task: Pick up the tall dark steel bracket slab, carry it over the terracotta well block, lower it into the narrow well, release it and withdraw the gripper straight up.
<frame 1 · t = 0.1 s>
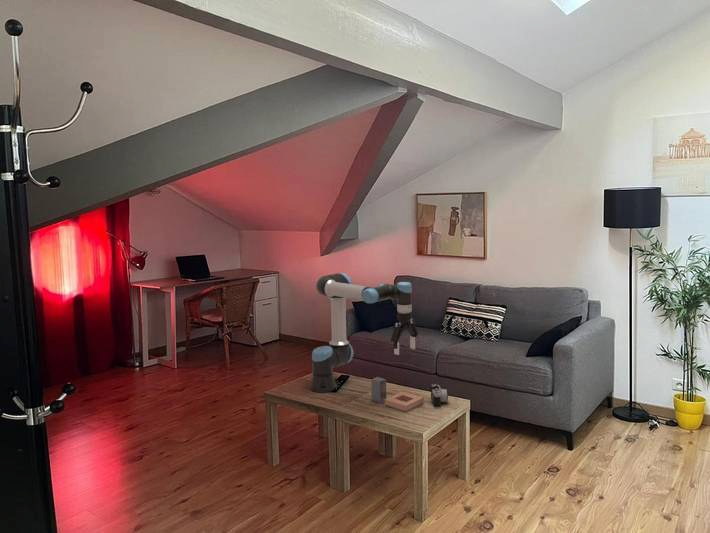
hand: (404, 351, 305), 28 cm above the table, fingers open, 13 cm apart
camera: (438, 403, 307), on the table
well: (404, 404, 305), on the table
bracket: (379, 400, 311), on the table
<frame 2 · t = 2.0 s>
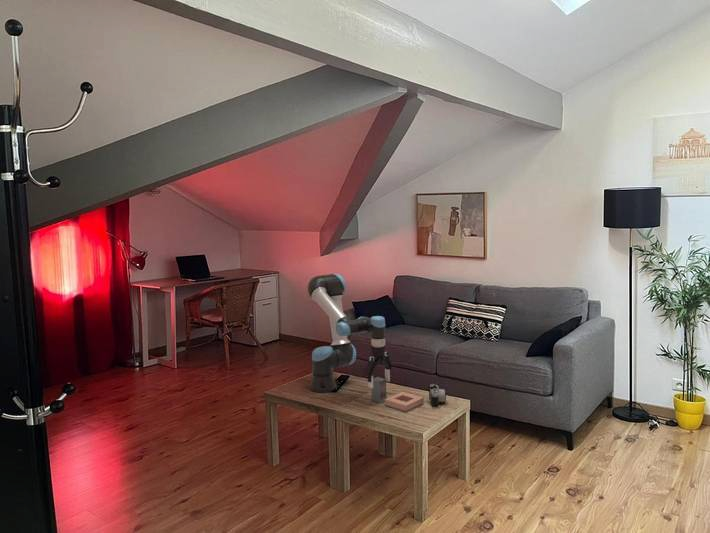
hand: (379, 384, 310), 9 cm above the table, fingers open, 13 cm apart
camera: (436, 403, 307), on the table
everything else where it was.
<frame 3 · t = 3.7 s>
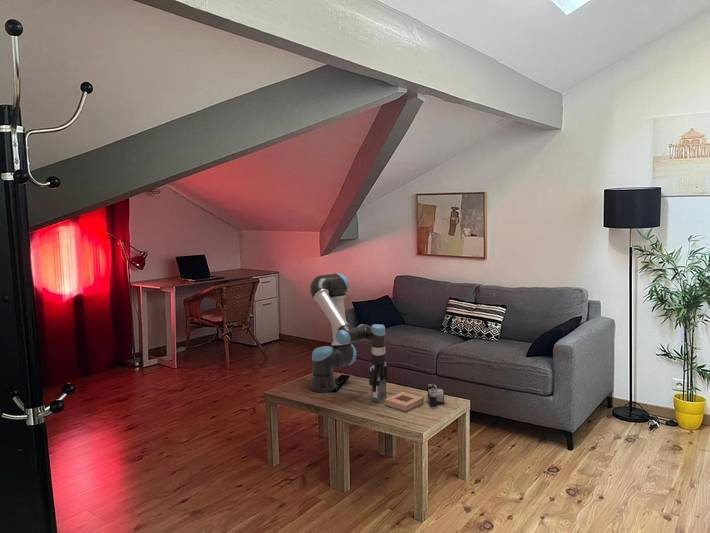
hand: (378, 395, 311), 3 cm above the table, fingers closed on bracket, 5 cm apart
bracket: (379, 400, 311), on the table, touching gripper
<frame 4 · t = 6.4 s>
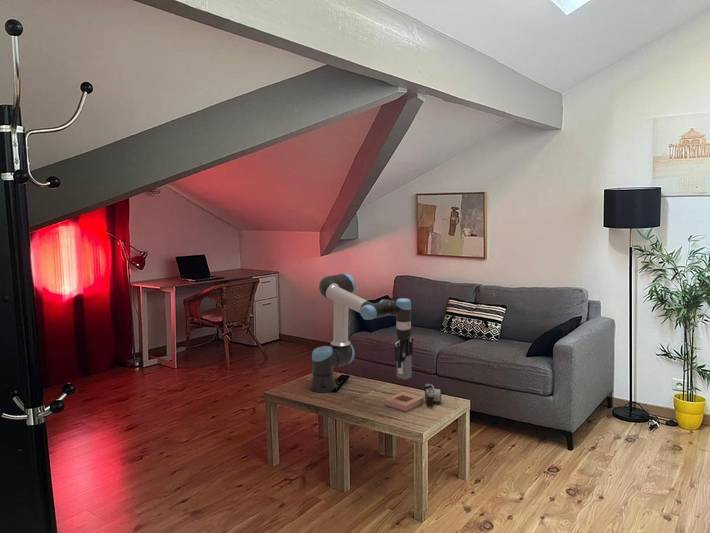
hand: (404, 372, 302), 18 cm above the table, fingers closed on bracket, 5 cm apart
camera: (432, 403, 307), on the table
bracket: (404, 377, 303), point 15 cm above the table, touching gripper
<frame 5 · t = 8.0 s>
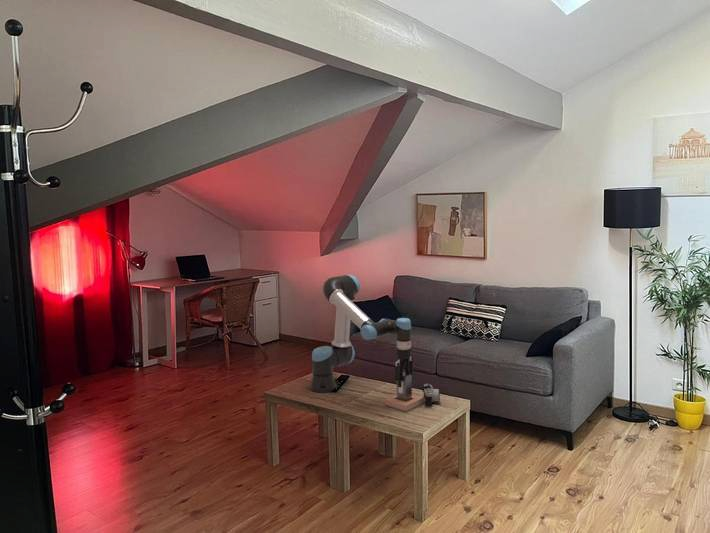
hand: (404, 391, 304), 8 cm above the table, fingers closed on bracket, 5 cm apart
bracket: (404, 396, 304), point 5 cm above the table, touching gripper
when the fingers open (5 cm above the table, at t = 9.2 s): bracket drops 2 cm, resting on well.
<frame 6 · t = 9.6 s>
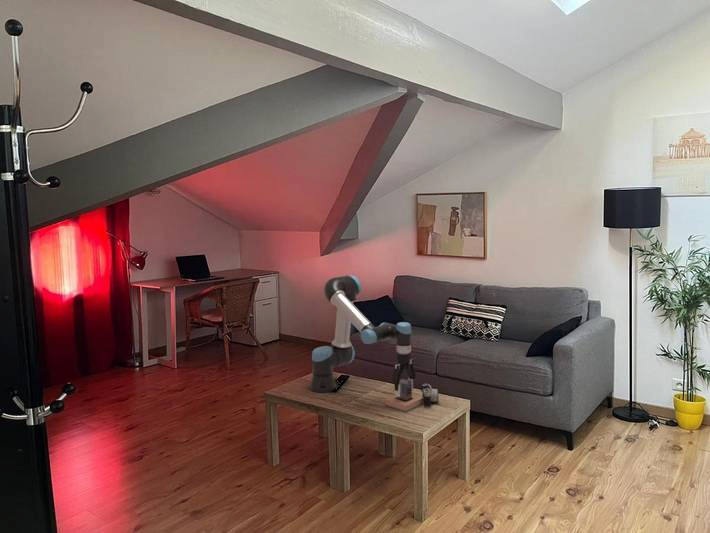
hand: (404, 393, 304), 6 cm above the table, fingers open, 10 cm apart
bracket: (404, 403, 305), point 1 cm above the table, touching well
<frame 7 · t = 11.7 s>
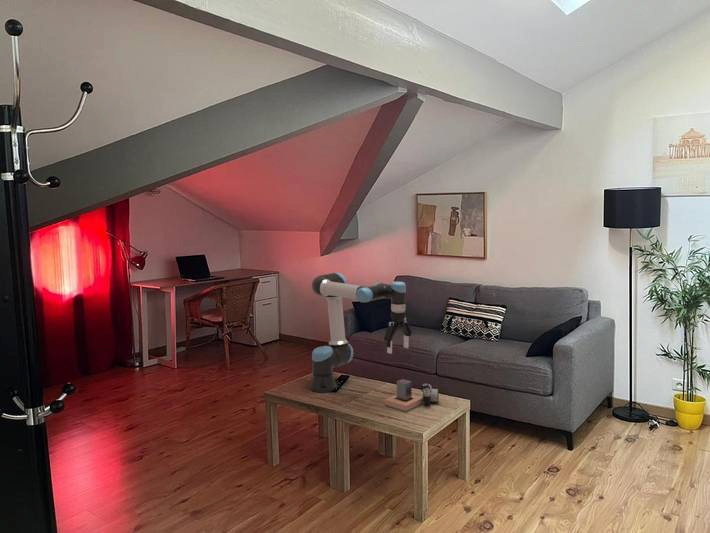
hand: (397, 350, 308), 28 cm above the table, fingers open, 13 cm apart
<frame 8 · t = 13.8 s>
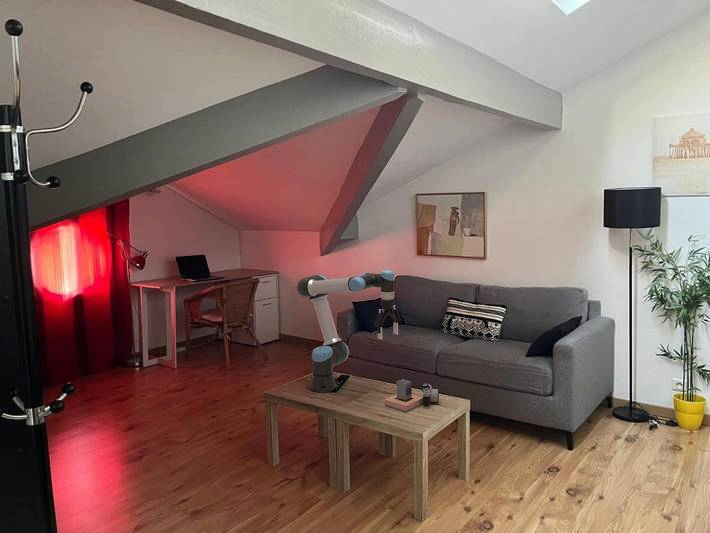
hand: (388, 336, 321), 32 cm above the table, fingers open, 13 cm apart
at the end: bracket 0.0 cm off-centre on the well, point 0.8 cm above the well's base; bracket tilted 0°; the gripper is holding nothing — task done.
